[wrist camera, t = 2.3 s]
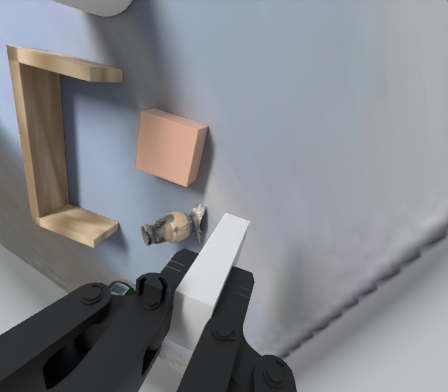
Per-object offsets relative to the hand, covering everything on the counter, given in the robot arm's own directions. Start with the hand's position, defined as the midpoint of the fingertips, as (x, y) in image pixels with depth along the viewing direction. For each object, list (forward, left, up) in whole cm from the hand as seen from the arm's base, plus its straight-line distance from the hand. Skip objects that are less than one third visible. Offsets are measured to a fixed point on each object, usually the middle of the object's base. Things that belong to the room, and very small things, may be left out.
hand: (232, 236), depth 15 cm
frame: (+21, +4, -12) cm, 25 cm away
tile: (+10, 0, -13) cm, 16 cm away
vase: (+8, +8, -13) cm, 17 cm away
